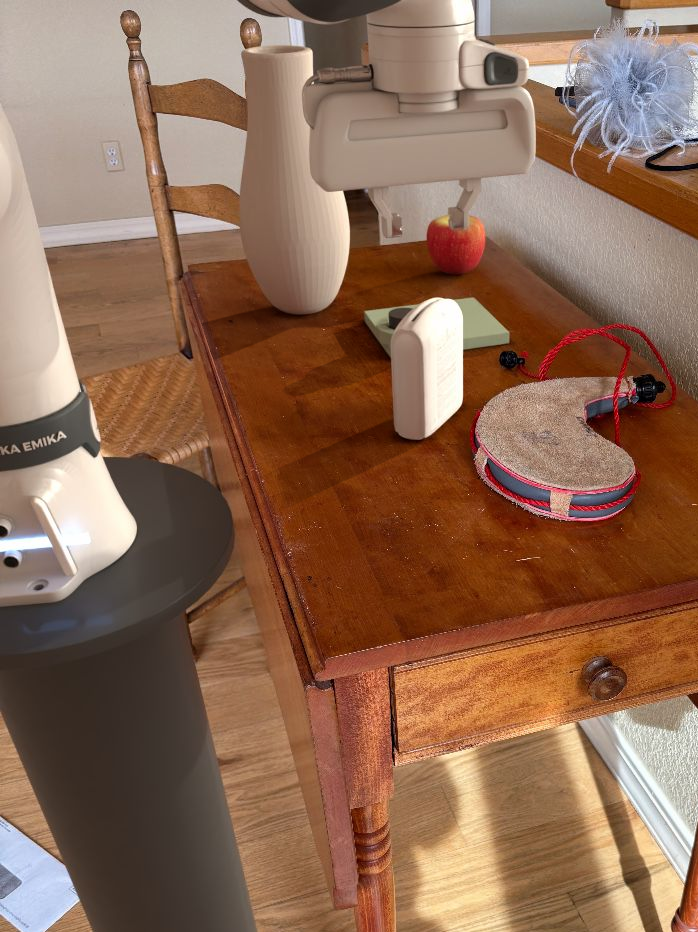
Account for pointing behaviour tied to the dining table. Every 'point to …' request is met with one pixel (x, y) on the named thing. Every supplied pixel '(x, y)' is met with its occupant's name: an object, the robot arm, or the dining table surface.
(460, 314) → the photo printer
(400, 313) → the button
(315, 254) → the vase
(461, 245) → the apple
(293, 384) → the dining table surface
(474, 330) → the scale
